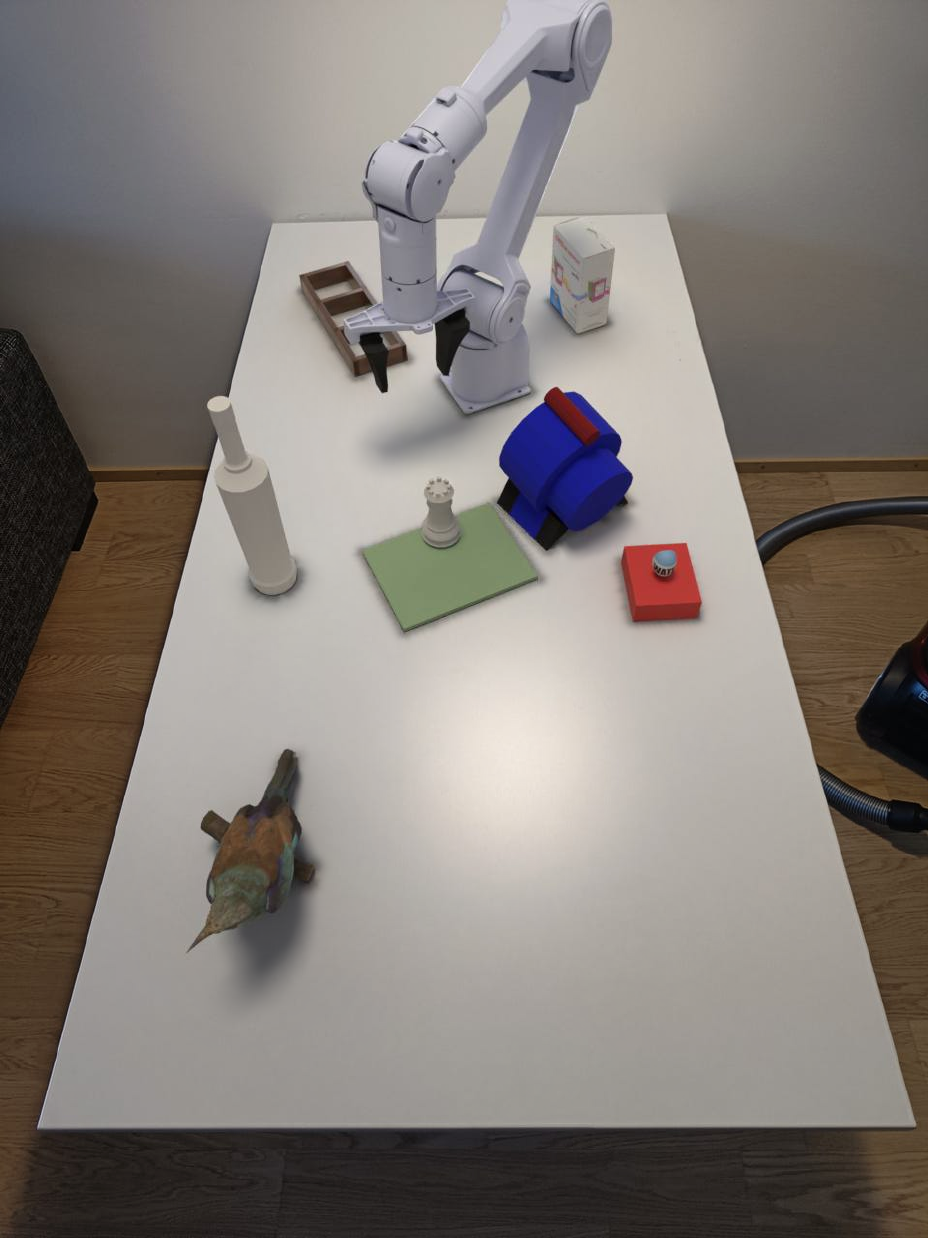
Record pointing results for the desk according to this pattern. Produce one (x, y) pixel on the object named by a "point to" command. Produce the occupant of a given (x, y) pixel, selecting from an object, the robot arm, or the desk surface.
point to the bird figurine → (254, 856)
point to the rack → (343, 304)
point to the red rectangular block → (660, 582)
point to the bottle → (251, 505)
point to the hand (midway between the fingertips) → (412, 378)
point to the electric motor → (562, 468)
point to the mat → (448, 568)
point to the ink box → (581, 273)
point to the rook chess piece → (440, 515)
